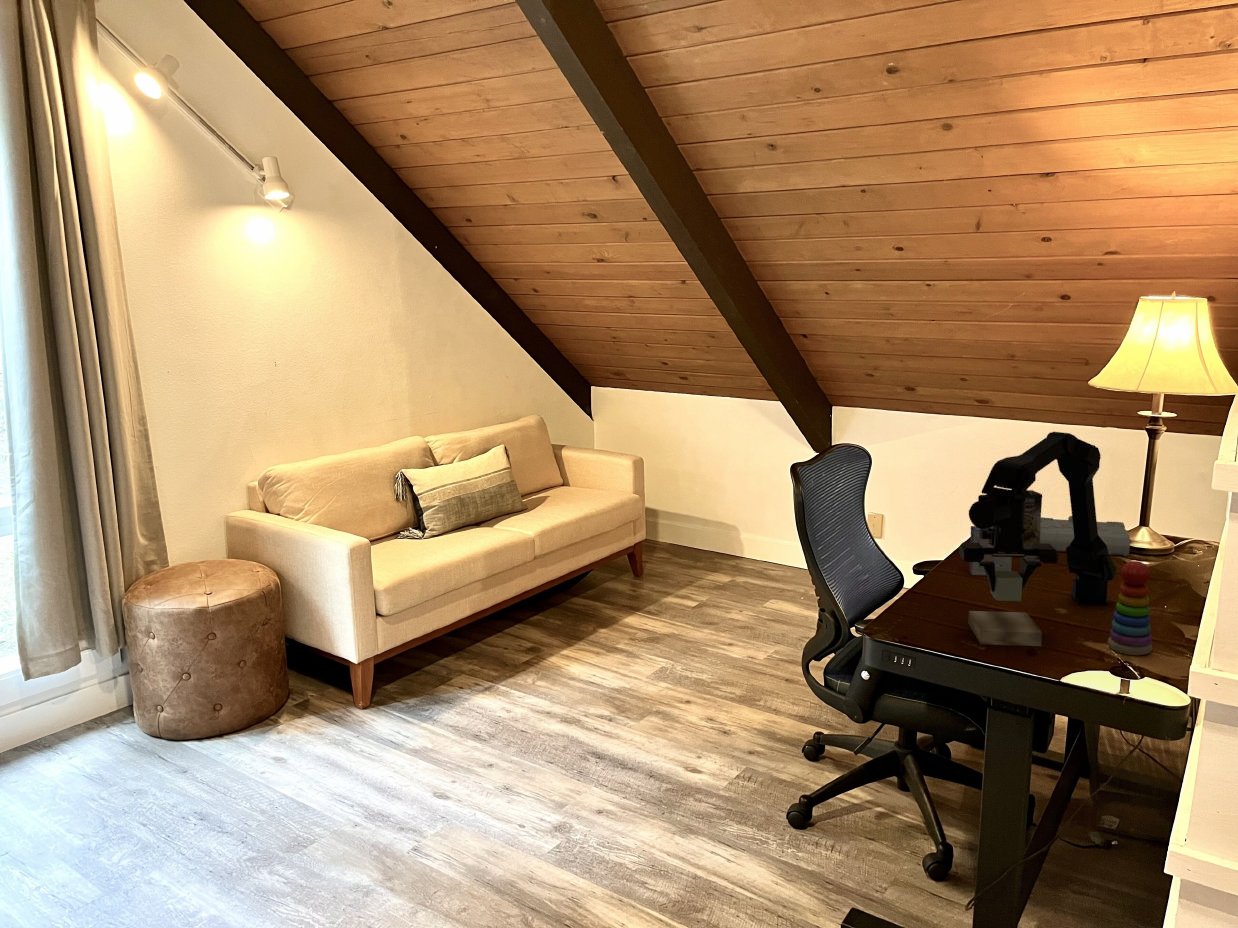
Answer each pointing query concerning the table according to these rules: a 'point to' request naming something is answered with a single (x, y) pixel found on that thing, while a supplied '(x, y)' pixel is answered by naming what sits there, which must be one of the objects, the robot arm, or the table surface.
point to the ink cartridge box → (999, 562)
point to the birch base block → (1004, 628)
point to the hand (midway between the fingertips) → (1005, 591)
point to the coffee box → (1032, 519)
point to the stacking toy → (1132, 612)
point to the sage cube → (1007, 586)
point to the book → (1063, 535)
